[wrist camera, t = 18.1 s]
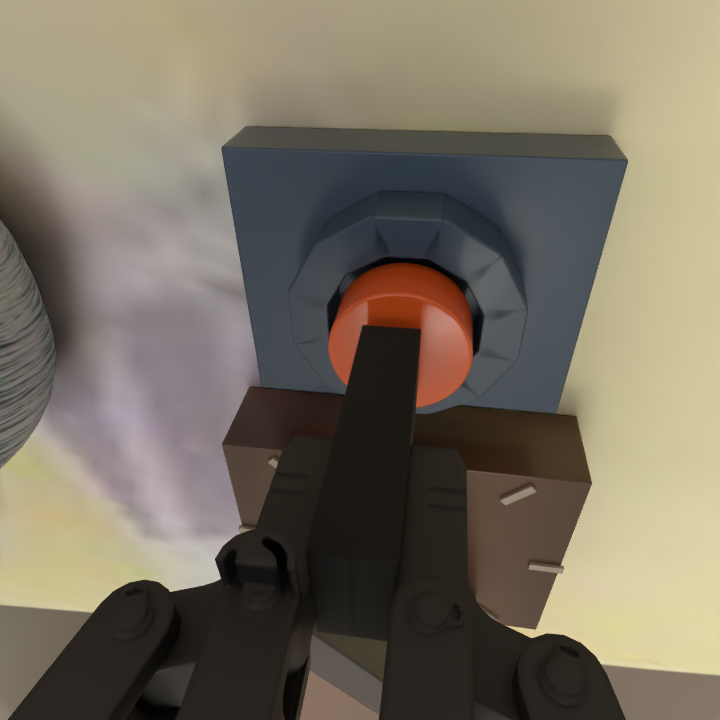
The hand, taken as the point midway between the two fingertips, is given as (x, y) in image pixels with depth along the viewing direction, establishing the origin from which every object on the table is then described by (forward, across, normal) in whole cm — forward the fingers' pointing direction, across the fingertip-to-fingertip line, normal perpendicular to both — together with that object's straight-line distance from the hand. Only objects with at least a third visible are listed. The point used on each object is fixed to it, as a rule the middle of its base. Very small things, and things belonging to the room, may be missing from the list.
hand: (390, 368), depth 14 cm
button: (+2, 0, 0) cm, 2 cm away
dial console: (+6, 0, -12) cm, 13 cm away
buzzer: (+6, 0, 0) cm, 6 cm away
